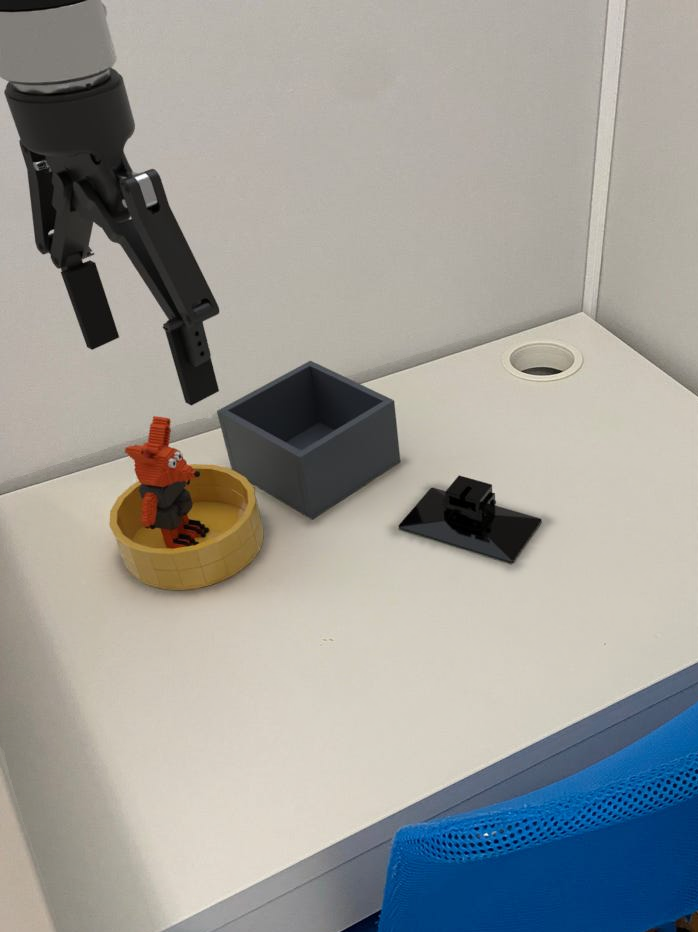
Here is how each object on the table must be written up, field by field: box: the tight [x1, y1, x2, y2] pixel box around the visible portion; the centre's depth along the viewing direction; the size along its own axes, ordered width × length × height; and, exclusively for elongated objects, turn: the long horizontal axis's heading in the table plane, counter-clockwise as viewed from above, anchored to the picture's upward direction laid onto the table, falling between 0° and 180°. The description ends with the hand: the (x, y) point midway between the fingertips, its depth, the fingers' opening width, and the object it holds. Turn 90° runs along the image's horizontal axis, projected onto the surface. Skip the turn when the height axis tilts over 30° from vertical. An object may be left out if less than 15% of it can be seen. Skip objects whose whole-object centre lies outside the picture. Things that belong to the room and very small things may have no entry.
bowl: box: [108, 463, 265, 591], centre depth 89 cm, size 13×13×4 cm
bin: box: [216, 360, 401, 520], centre depth 97 cm, size 13×13×8 cm
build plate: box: [398, 474, 543, 565], centre depth 90 cm, size 12×7×5 cm, turn 64°
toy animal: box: [124, 415, 210, 549], centre depth 86 cm, size 8×6×12 cm
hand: (151, 368), depth 76 cm, fingers open, 13 cm apart
